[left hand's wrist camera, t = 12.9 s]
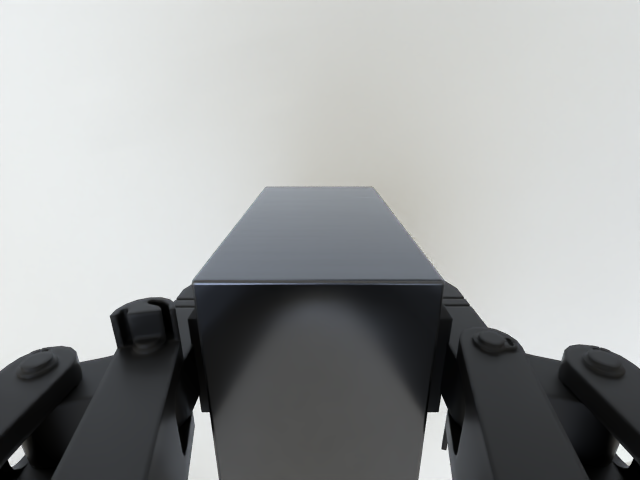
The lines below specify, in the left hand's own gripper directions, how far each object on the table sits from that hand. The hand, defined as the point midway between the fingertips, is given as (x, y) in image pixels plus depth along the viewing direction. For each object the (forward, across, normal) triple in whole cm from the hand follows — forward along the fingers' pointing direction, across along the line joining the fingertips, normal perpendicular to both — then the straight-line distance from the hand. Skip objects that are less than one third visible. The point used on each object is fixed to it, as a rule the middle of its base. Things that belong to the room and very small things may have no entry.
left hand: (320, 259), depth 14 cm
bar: (+1, 0, -11) cm, 11 cm away
